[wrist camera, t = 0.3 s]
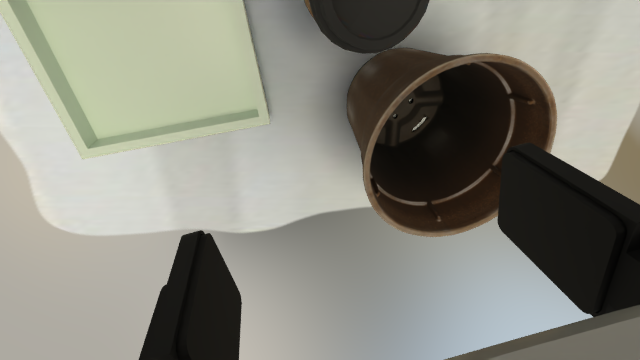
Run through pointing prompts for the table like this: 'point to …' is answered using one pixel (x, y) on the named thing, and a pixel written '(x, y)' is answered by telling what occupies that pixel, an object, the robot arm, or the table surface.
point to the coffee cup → (367, 22)
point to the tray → (141, 68)
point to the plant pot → (444, 134)
